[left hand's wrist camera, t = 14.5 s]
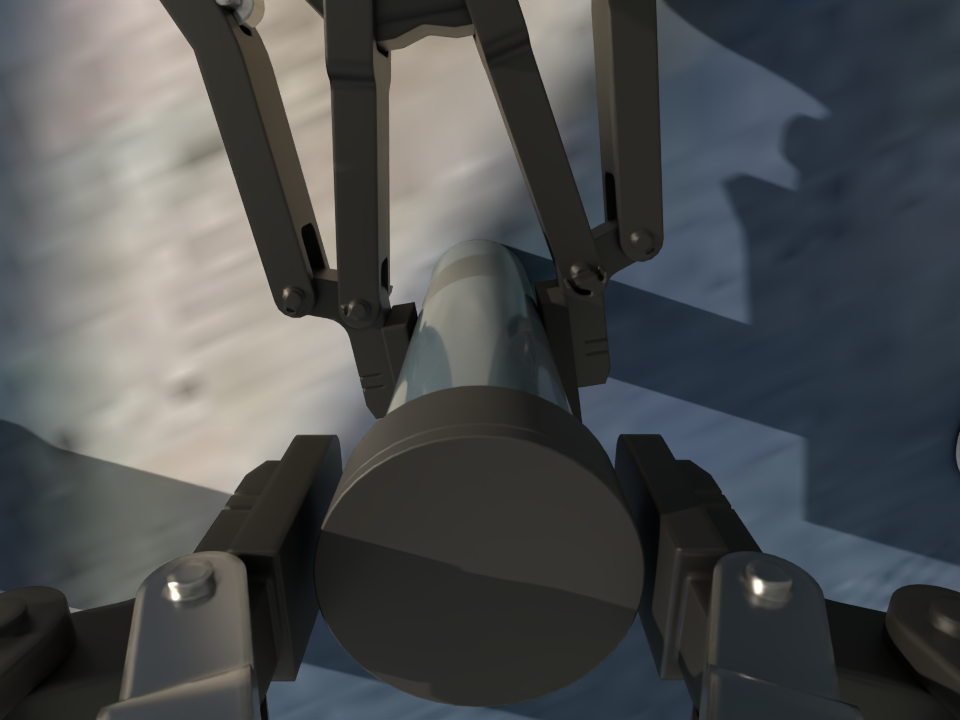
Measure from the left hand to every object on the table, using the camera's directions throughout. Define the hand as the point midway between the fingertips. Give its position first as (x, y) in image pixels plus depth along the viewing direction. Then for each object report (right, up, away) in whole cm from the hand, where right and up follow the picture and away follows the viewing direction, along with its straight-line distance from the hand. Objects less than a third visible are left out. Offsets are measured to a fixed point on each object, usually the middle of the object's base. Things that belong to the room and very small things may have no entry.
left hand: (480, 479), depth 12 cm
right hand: (+1, -2, +10) cm, 10 cm away
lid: (0, -1, -2) cm, 3 cm away
